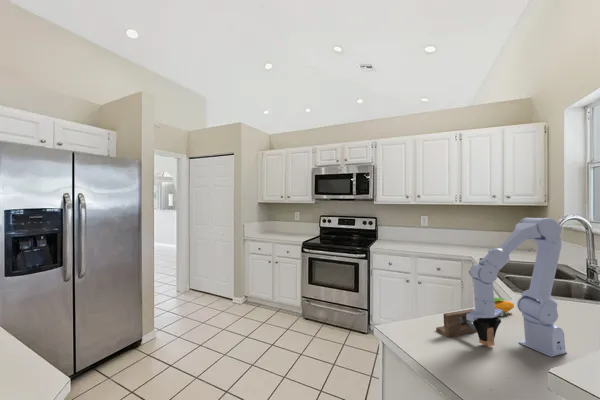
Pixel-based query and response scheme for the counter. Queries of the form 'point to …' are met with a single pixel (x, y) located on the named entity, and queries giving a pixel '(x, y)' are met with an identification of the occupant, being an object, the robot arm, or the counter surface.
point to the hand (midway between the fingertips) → (486, 339)
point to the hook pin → (489, 333)
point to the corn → (503, 305)
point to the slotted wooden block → (455, 324)
